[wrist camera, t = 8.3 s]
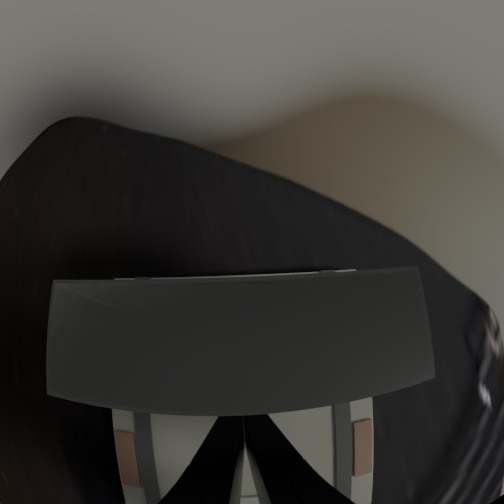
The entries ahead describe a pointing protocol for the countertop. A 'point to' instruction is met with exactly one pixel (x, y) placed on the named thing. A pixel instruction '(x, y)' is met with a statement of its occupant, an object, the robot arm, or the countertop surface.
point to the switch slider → (238, 341)
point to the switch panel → (291, 425)
